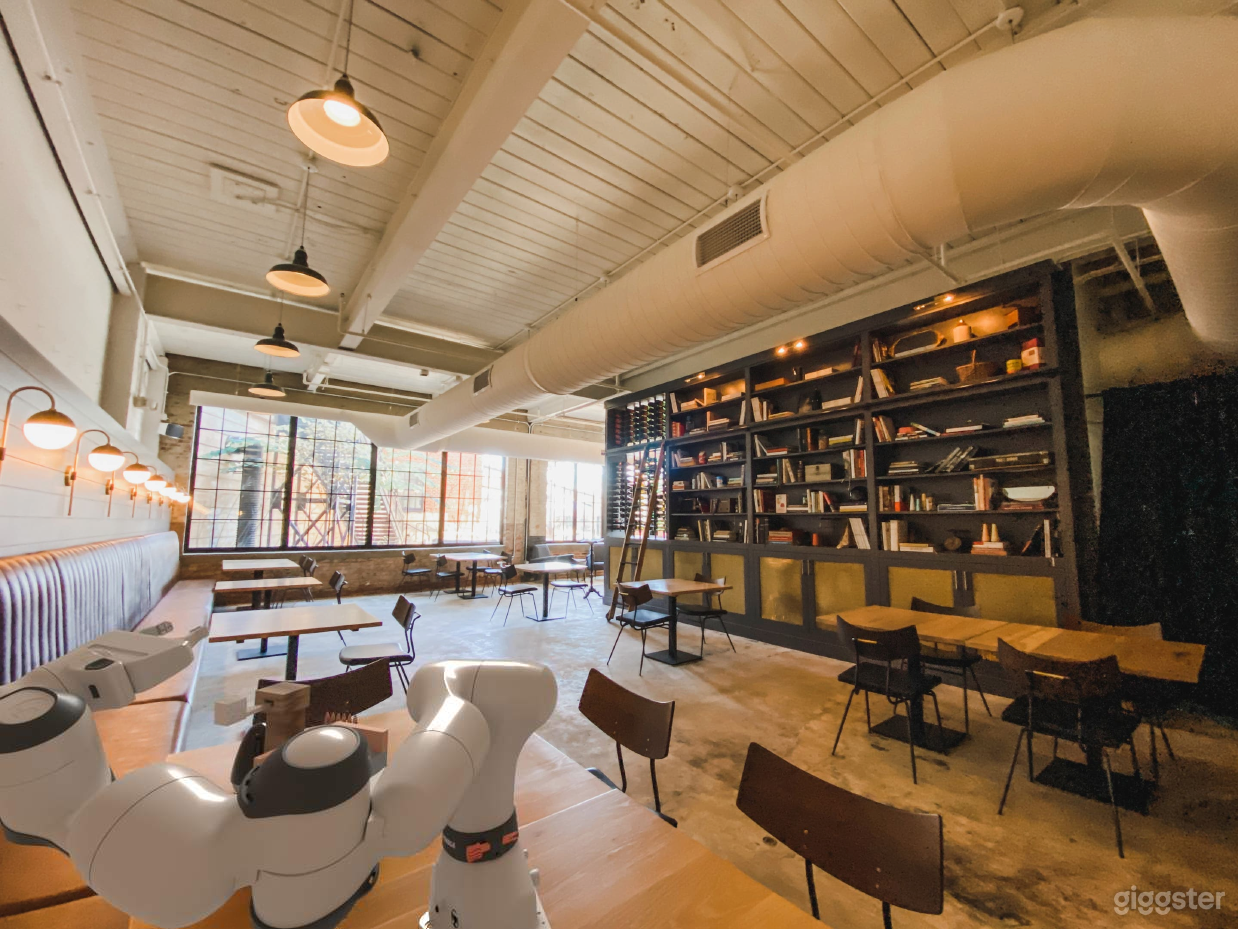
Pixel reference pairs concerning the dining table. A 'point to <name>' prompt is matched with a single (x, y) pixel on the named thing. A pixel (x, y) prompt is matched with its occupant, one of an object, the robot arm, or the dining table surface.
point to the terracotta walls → (373, 734)
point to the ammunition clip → (332, 720)
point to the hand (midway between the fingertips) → (187, 627)
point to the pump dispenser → (248, 753)
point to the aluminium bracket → (236, 710)
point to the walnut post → (283, 712)
